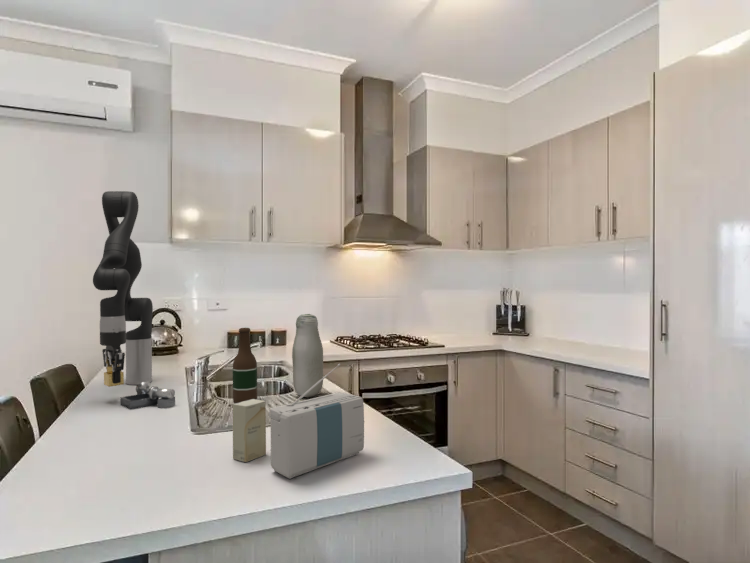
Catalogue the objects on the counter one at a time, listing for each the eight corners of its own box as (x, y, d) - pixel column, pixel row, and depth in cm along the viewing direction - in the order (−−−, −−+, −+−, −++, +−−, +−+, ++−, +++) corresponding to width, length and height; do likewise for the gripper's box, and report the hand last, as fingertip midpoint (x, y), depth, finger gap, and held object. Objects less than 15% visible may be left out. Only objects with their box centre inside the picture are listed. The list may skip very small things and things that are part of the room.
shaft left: (149, 400, 160) (149, 382, 160) (135, 401, 159) (134, 383, 159) (153, 395, 167) (153, 378, 167) (139, 396, 165) (139, 379, 165)
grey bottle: (310, 391, 170) (309, 312, 170) (328, 396, 163) (328, 313, 163) (287, 396, 163) (286, 314, 163) (305, 401, 156) (304, 315, 156)
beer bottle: (227, 403, 155) (227, 328, 155) (242, 397, 162) (242, 326, 162) (247, 405, 152) (246, 329, 152) (262, 399, 159) (261, 327, 159)
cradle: (120, 404, 154) (120, 397, 154) (148, 399, 160) (148, 392, 160) (130, 409, 148) (130, 401, 148) (158, 404, 155) (158, 396, 155)
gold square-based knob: (104, 384, 158) (103, 366, 157) (118, 382, 161) (118, 364, 161) (108, 386, 154) (108, 368, 154) (123, 384, 158) (123, 366, 158)
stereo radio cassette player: (289, 483, 93) (288, 380, 93) (265, 472, 99) (264, 374, 99) (366, 455, 108) (365, 365, 108) (341, 446, 114) (340, 361, 114)
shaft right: (148, 407, 151) (148, 388, 151) (157, 403, 155) (157, 385, 155) (167, 408, 149) (167, 389, 149) (176, 404, 154) (176, 386, 154)
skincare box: (246, 463, 103) (245, 406, 103) (231, 459, 106) (231, 404, 106) (267, 454, 109) (266, 400, 109) (253, 450, 111) (252, 398, 111)
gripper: (93, 329, 159) (94, 380, 160) (107, 332, 149) (108, 387, 150) (117, 327, 165) (118, 376, 165) (133, 330, 155) (134, 383, 155)
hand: (113, 381), depth 158 cm, fingers closed on gold square-based knob, 4 cm apart
